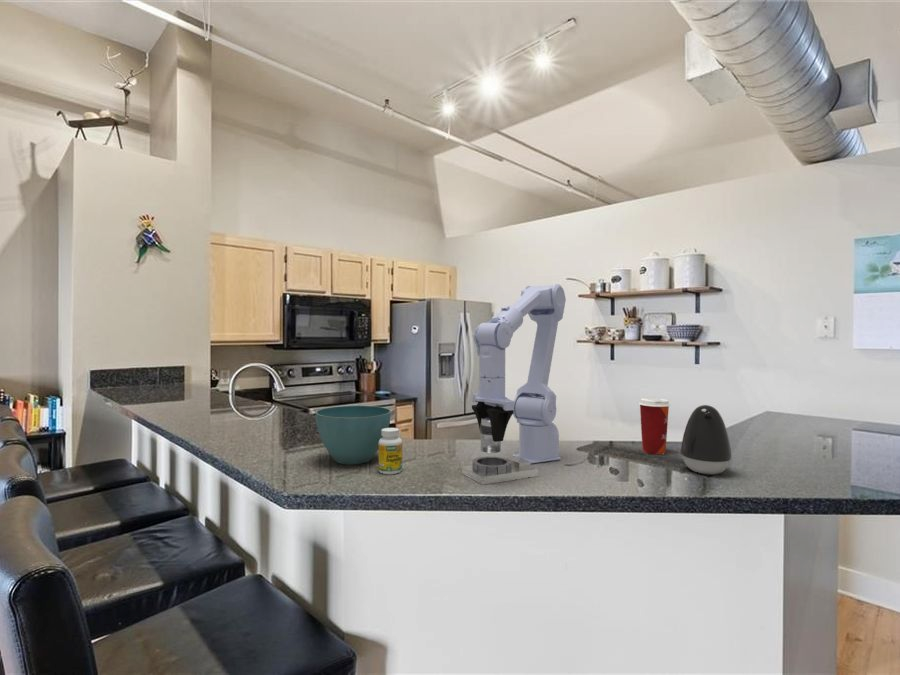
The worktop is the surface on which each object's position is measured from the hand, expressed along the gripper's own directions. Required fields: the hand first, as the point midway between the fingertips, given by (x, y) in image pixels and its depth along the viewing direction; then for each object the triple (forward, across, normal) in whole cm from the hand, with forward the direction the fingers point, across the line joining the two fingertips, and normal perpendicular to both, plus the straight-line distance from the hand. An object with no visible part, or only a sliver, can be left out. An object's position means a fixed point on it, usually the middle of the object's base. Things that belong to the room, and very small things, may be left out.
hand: (491, 438), depth 107 cm
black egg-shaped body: (+8, +18, +46) cm, 50 cm away
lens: (+2, 0, 0) cm, 3 cm away
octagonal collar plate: (+8, 0, +2) cm, 8 cm away
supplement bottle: (+8, -13, -19) cm, 25 cm away
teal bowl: (+8, -26, -24) cm, 36 cm away
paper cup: (+8, 0, +50) cm, 51 cm away
